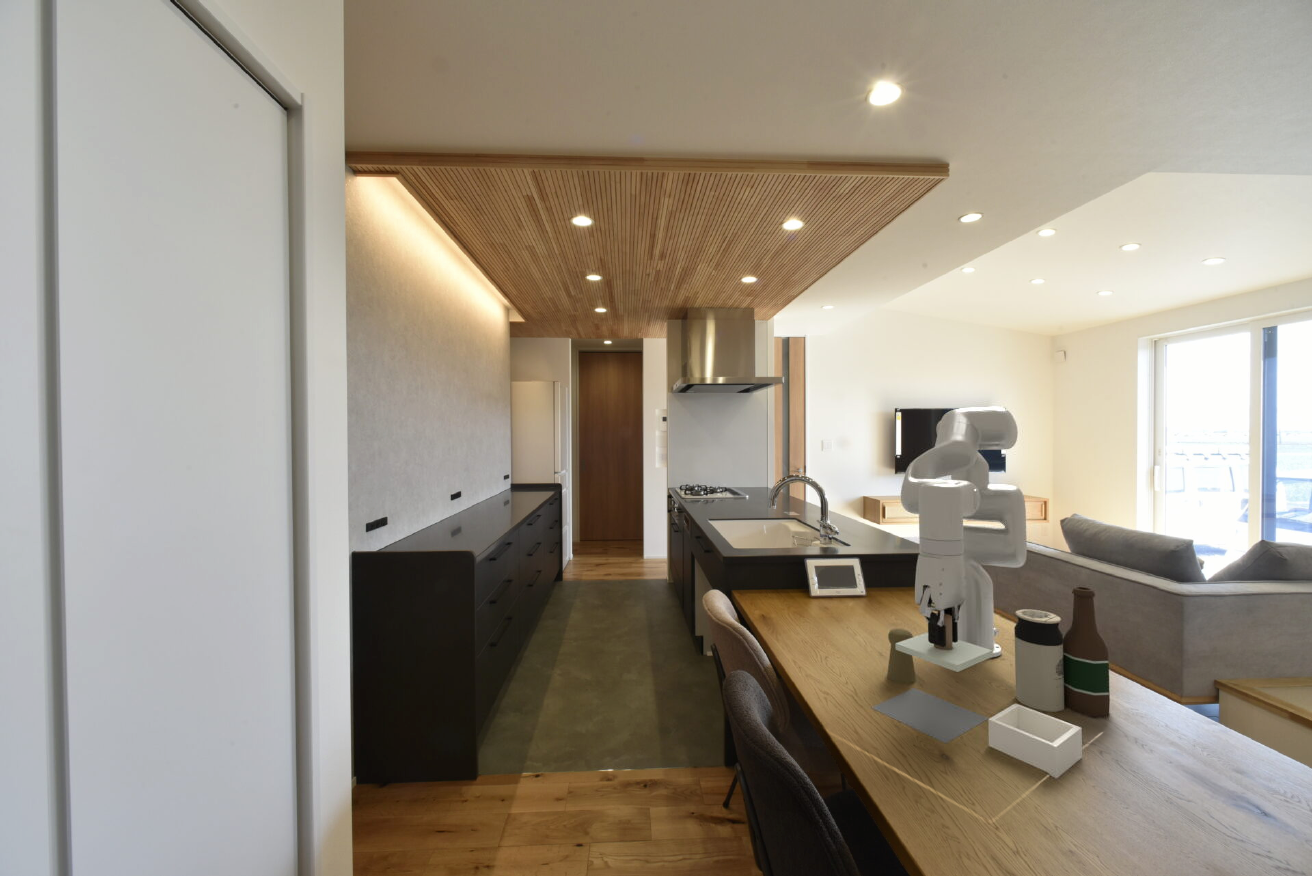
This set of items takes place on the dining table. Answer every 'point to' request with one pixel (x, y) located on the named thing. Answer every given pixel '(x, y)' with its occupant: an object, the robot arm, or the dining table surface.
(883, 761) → the dining table surface
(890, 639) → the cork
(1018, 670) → the travel mug
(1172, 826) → the dining table surface
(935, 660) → the lid
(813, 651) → the dining table surface
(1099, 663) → the beer bottle
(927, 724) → the mat
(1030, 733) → the white open storage bin
